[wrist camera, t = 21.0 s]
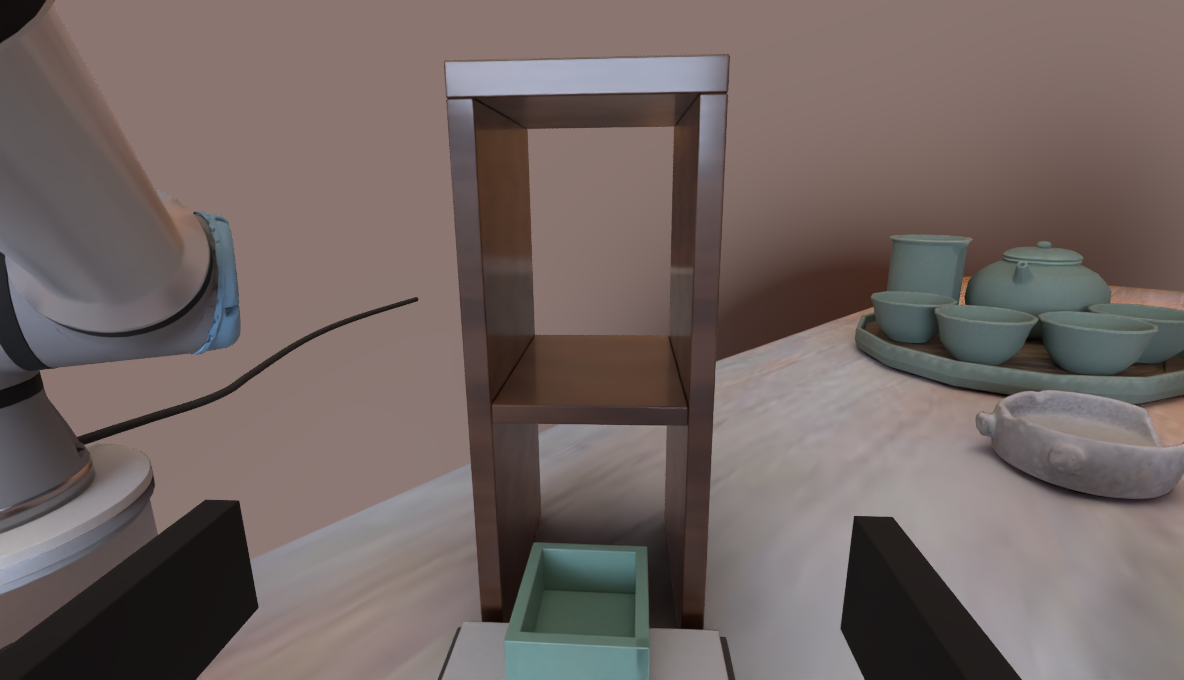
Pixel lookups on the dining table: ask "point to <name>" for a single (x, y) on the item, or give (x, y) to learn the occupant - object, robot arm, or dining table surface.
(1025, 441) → the dish
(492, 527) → the shelf
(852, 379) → the dining table surface
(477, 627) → the whiteboard
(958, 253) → the tea set
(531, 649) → the scoop
